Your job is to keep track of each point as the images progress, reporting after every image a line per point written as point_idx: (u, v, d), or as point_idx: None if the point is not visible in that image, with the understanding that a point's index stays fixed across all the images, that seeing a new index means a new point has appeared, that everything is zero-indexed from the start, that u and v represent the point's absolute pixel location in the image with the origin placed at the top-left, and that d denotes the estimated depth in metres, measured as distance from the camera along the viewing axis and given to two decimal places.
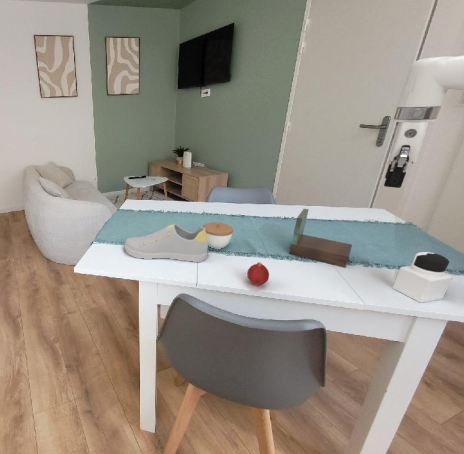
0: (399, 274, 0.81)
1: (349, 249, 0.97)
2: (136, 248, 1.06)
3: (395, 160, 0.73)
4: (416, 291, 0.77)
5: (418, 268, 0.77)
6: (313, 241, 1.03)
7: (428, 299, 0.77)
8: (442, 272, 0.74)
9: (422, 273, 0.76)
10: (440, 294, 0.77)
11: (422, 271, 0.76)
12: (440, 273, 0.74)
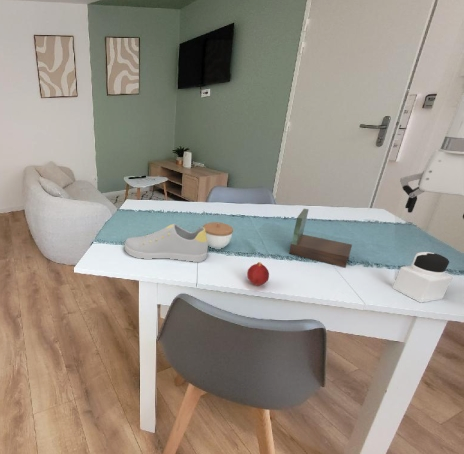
0: (399, 274, 0.81)
1: (349, 249, 0.97)
2: (136, 248, 1.06)
3: None
4: (416, 291, 0.77)
5: (418, 268, 0.77)
6: (313, 241, 1.03)
7: (428, 299, 0.77)
8: (442, 272, 0.74)
9: (422, 273, 0.76)
10: (440, 294, 0.77)
11: (422, 271, 0.76)
12: (440, 273, 0.74)
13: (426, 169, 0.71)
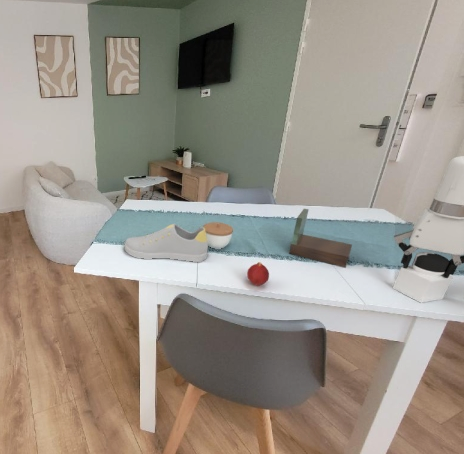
0: (399, 274, 0.81)
1: (349, 249, 0.97)
2: (136, 248, 1.06)
3: None
4: (417, 291, 0.77)
5: (418, 268, 0.77)
6: (313, 241, 1.03)
7: (428, 299, 0.77)
8: (442, 272, 0.74)
9: (422, 273, 0.76)
10: (440, 294, 0.77)
11: (423, 271, 0.76)
12: (440, 273, 0.74)
13: (416, 227, 0.75)
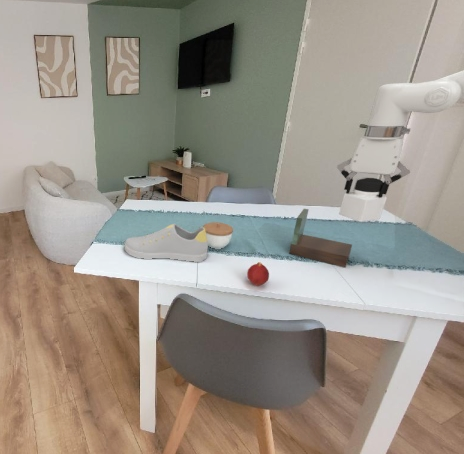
0: (343, 200, 0.90)
1: (349, 249, 0.97)
2: (136, 248, 1.06)
3: None
4: (357, 212, 0.87)
5: (357, 191, 0.86)
6: (313, 241, 1.03)
7: (367, 218, 0.86)
8: (377, 192, 0.84)
9: (361, 195, 0.86)
10: (377, 214, 0.86)
11: (361, 193, 0.86)
12: (375, 193, 0.84)
13: (354, 153, 0.85)
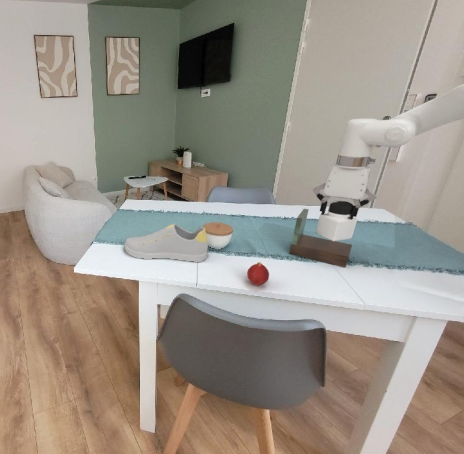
0: (319, 220, 0.98)
1: (349, 249, 0.97)
2: (136, 248, 1.06)
3: None
4: (330, 232, 0.95)
5: (331, 213, 0.94)
6: (313, 241, 1.03)
7: (339, 238, 0.94)
8: (348, 215, 0.92)
9: (334, 217, 0.94)
10: (349, 234, 0.94)
11: (334, 215, 0.94)
12: (346, 216, 0.92)
13: (327, 179, 0.93)
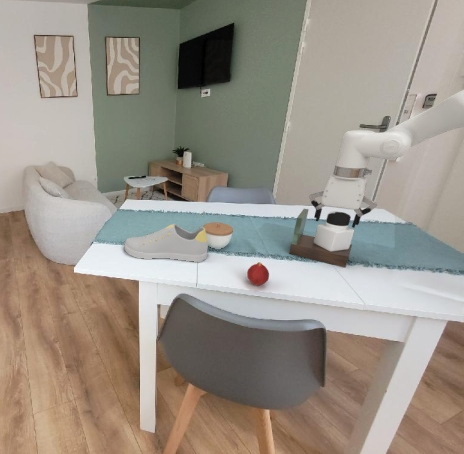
0: (317, 230, 1.00)
1: (349, 249, 0.97)
2: (136, 248, 1.06)
3: None
4: (328, 243, 0.96)
5: (328, 224, 0.96)
6: (313, 241, 1.03)
7: (336, 249, 0.96)
8: (345, 226, 0.93)
9: (331, 228, 0.95)
10: (346, 245, 0.96)
11: (331, 226, 0.95)
12: (344, 227, 0.93)
13: (324, 189, 0.94)
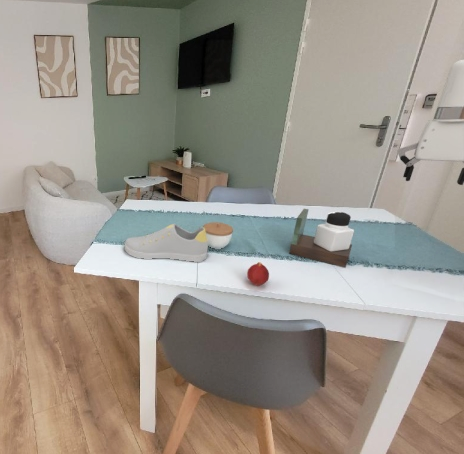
0: (317, 230, 1.00)
1: (349, 249, 0.97)
2: (136, 248, 1.06)
3: None
4: (328, 243, 0.96)
5: (328, 224, 0.96)
6: (313, 241, 1.03)
7: (336, 249, 0.96)
8: (345, 226, 0.93)
9: (331, 228, 0.95)
10: (346, 245, 0.96)
11: (331, 226, 0.95)
12: (344, 227, 0.93)
13: (421, 139, 0.76)
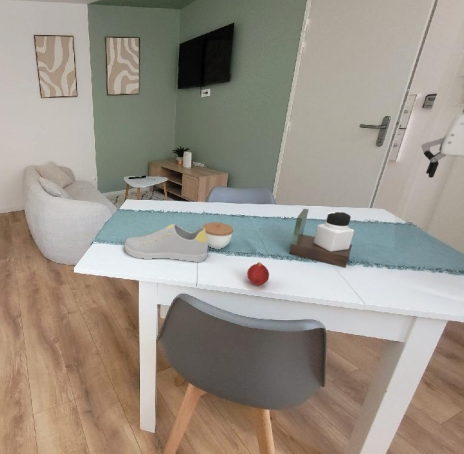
0: (317, 230, 1.00)
1: (349, 249, 0.97)
2: (136, 248, 1.06)
3: None
4: (328, 243, 0.96)
5: (328, 224, 0.96)
6: (313, 241, 1.03)
7: (336, 249, 0.96)
8: (345, 226, 0.93)
9: (331, 228, 0.95)
10: (346, 245, 0.96)
11: (331, 226, 0.95)
12: (344, 227, 0.93)
13: (448, 133, 0.73)
